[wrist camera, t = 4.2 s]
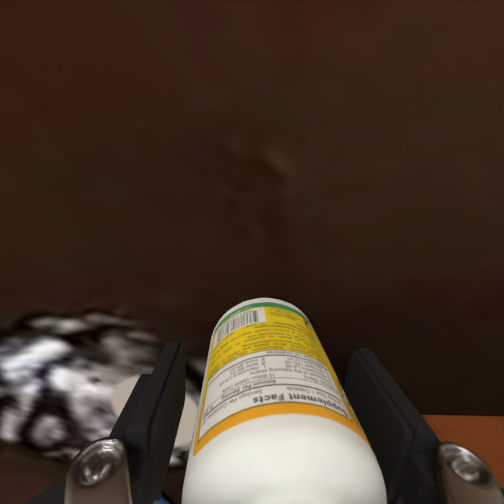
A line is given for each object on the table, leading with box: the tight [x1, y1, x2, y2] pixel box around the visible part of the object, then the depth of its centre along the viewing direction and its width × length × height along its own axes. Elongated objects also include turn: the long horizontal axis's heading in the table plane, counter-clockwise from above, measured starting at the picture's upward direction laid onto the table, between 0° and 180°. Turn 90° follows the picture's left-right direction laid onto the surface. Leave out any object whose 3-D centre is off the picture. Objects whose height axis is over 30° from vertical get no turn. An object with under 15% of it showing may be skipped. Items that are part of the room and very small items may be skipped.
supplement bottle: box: [182, 298, 387, 504], centre depth 8 cm, size 5×5×10 cm
